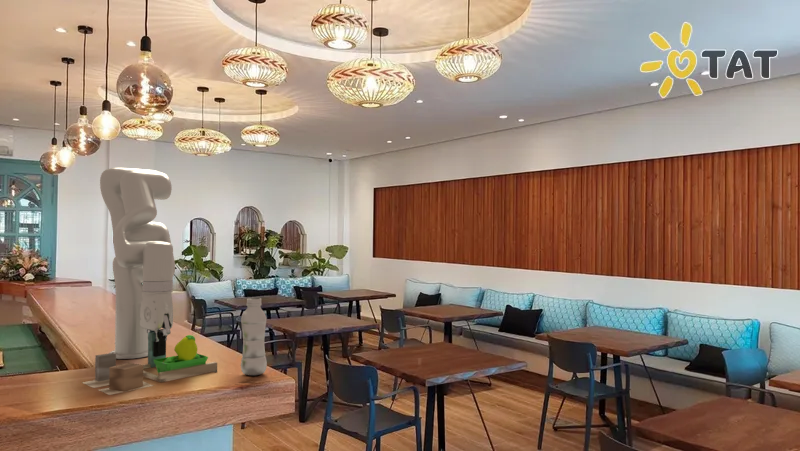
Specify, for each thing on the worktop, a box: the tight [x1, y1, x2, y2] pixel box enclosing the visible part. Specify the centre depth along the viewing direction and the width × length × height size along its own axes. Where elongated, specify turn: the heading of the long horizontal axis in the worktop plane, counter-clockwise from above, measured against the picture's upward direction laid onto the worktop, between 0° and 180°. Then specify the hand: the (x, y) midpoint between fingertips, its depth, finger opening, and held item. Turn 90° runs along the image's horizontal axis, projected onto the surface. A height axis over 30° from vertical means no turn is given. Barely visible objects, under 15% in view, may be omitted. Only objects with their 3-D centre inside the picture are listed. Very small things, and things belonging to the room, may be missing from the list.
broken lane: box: [82, 352, 154, 396], centre depth 130 cm, size 16×10×7 cm, turn 50°
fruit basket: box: [154, 334, 209, 374], centre depth 140 cm, size 11×9×11 cm
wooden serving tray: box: [142, 332, 218, 383], centre depth 144 cm, size 18×15×10 cm
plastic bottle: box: [240, 297, 268, 377], centre depth 144 cm, size 6×7×20 cm
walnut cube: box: [108, 362, 144, 393], centre depth 127 cm, size 5×5×5 cm
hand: (156, 354), depth 149 cm, fingers closed on wooden serving tray, 2 cm apart
